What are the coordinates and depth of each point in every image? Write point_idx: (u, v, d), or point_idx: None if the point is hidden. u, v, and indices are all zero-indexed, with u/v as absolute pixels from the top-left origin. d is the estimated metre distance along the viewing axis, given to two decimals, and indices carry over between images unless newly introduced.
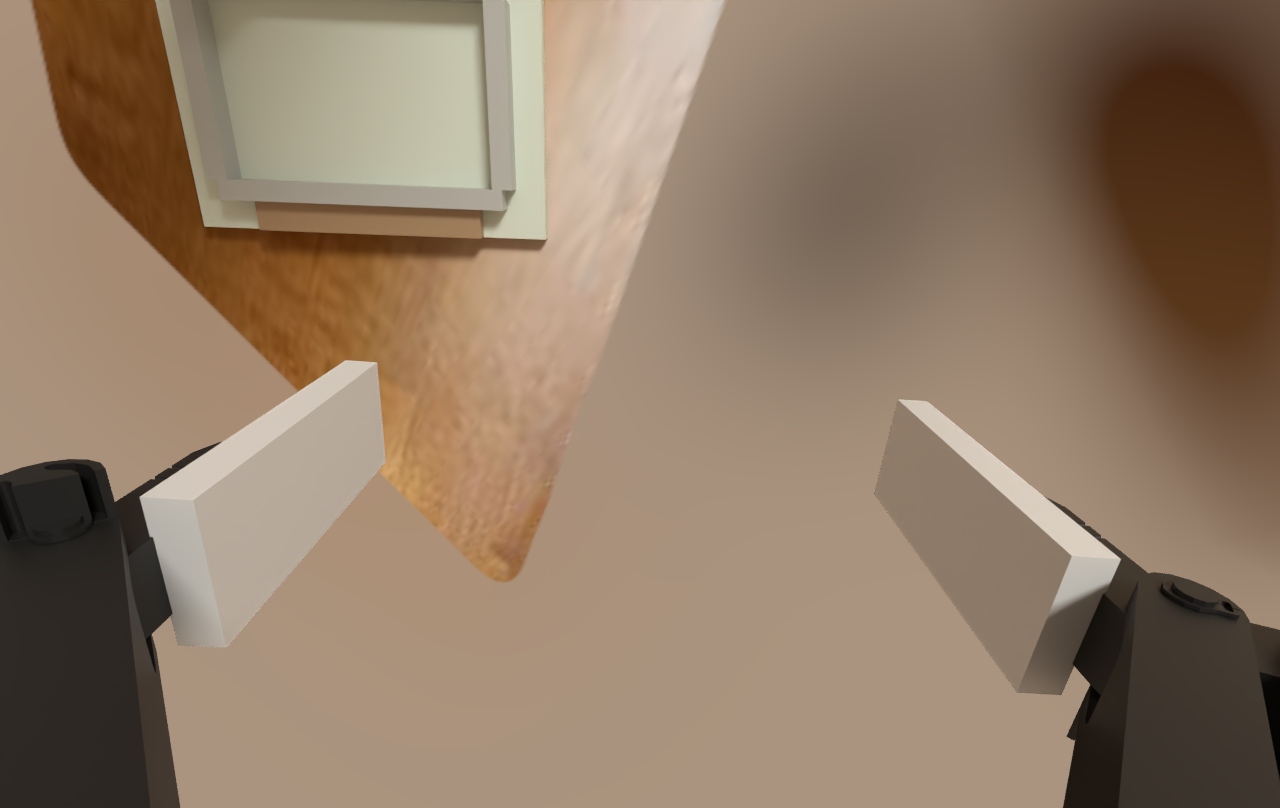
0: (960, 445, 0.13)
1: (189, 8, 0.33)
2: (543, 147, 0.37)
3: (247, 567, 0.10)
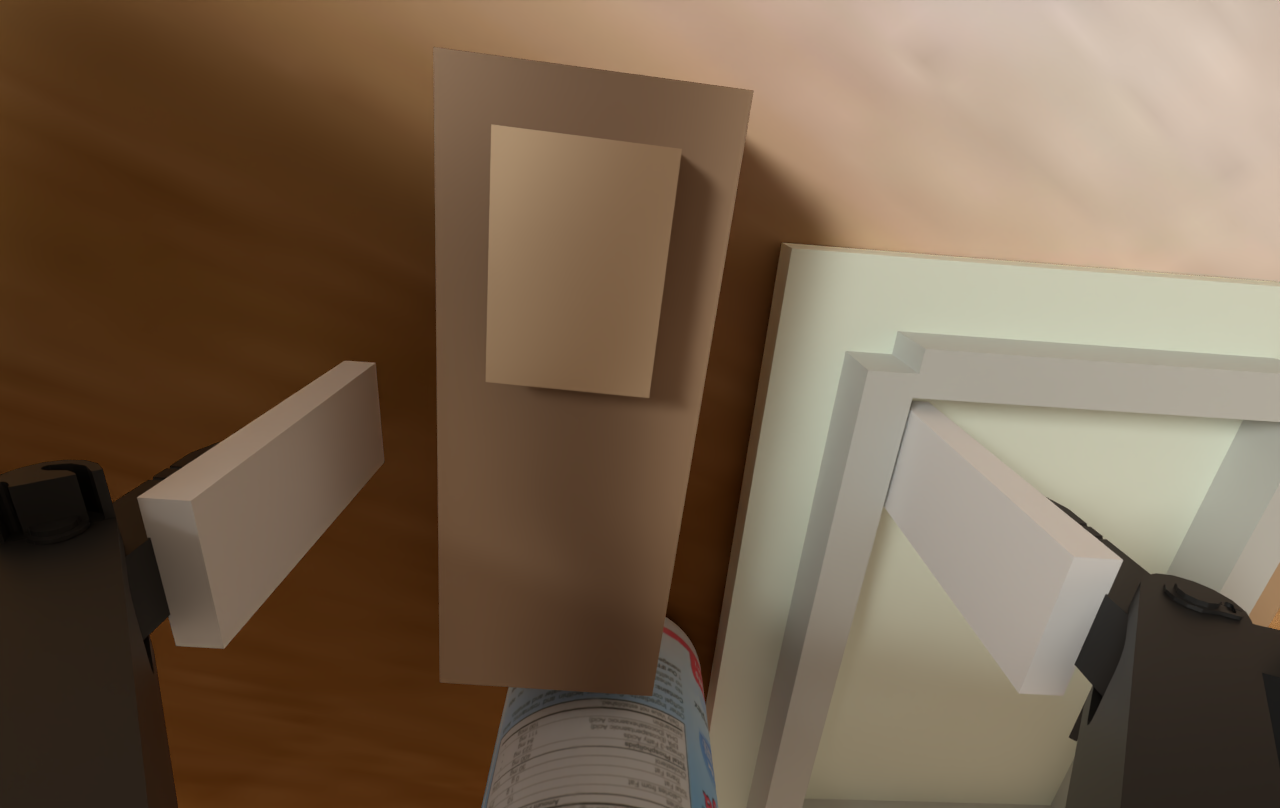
0: (961, 445, 0.13)
1: None
2: (1207, 282, 0.15)
3: (245, 567, 0.10)
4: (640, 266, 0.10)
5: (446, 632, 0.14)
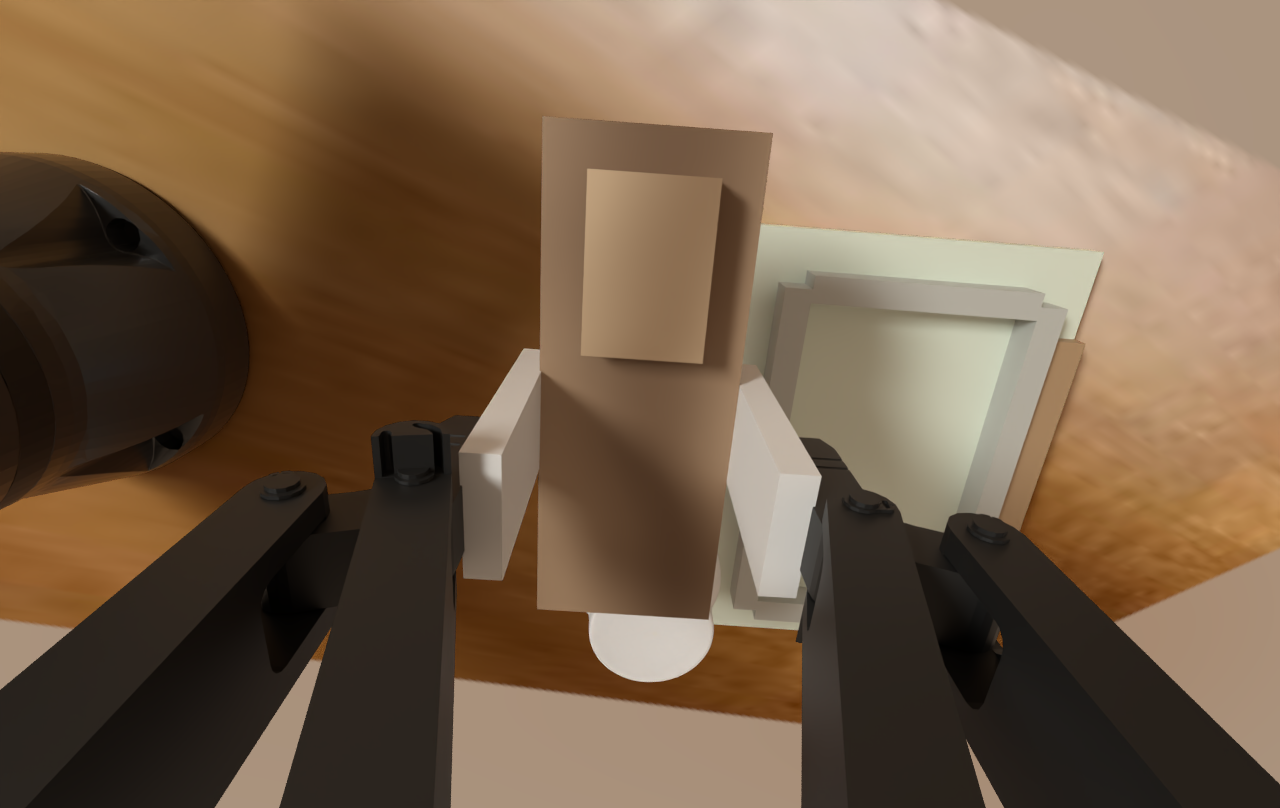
0: (756, 397, 0.14)
1: (778, 605, 0.32)
2: (979, 243, 0.27)
3: (510, 515, 0.12)
4: (693, 264, 0.13)
5: (543, 565, 0.17)
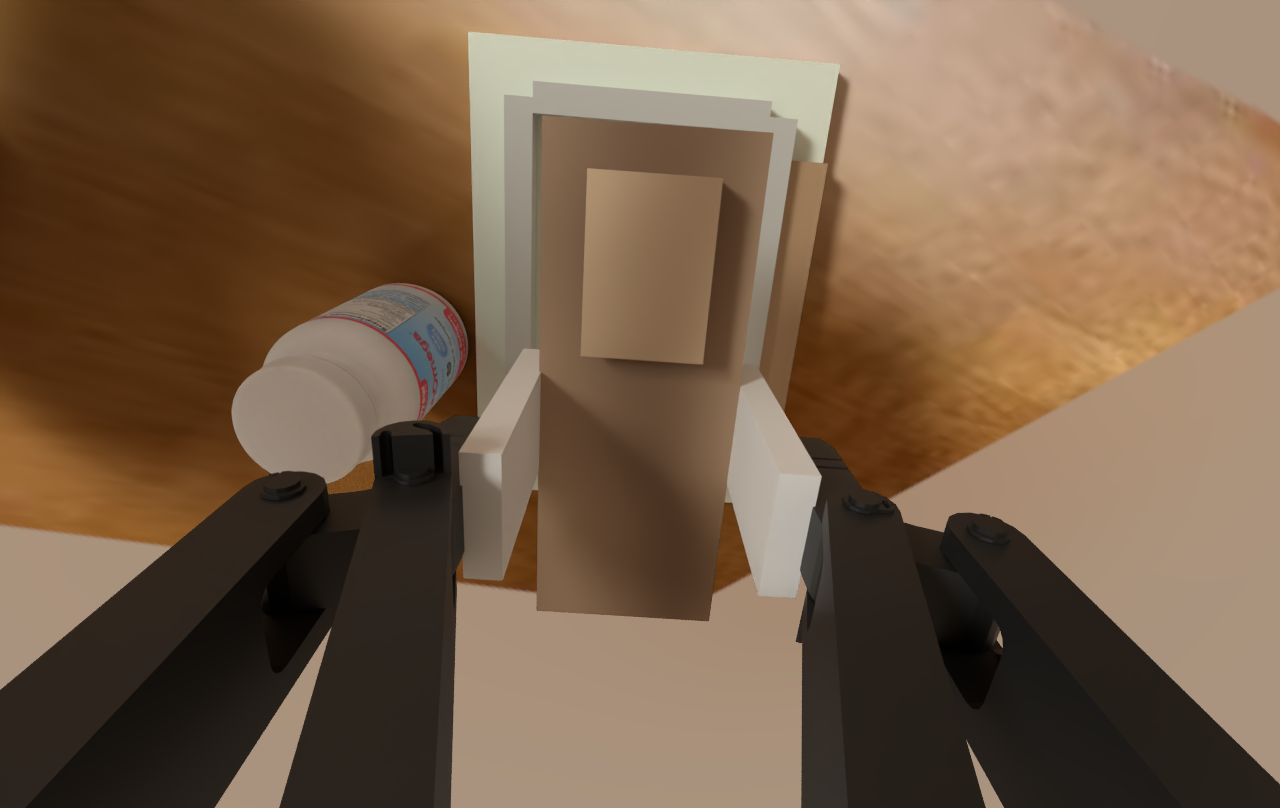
0: (756, 397, 0.14)
1: None
2: (712, 54, 0.26)
3: (510, 516, 0.12)
4: (694, 264, 0.13)
5: (542, 566, 0.17)
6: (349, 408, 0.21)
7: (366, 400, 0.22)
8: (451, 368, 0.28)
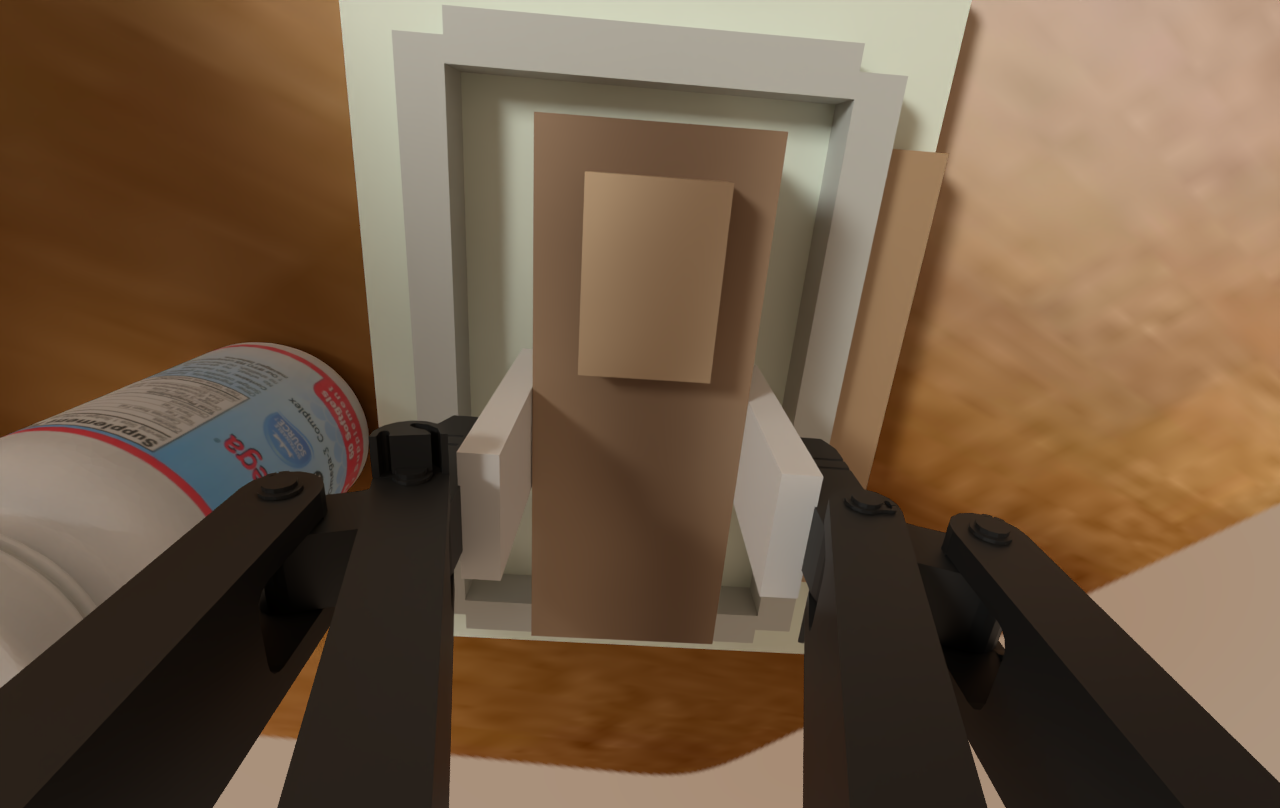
0: (757, 397, 0.14)
1: (499, 606, 0.20)
2: None
3: (508, 516, 0.12)
4: (701, 276, 0.12)
5: (537, 591, 0.16)
6: None
7: (58, 610, 0.11)
8: (324, 479, 0.17)
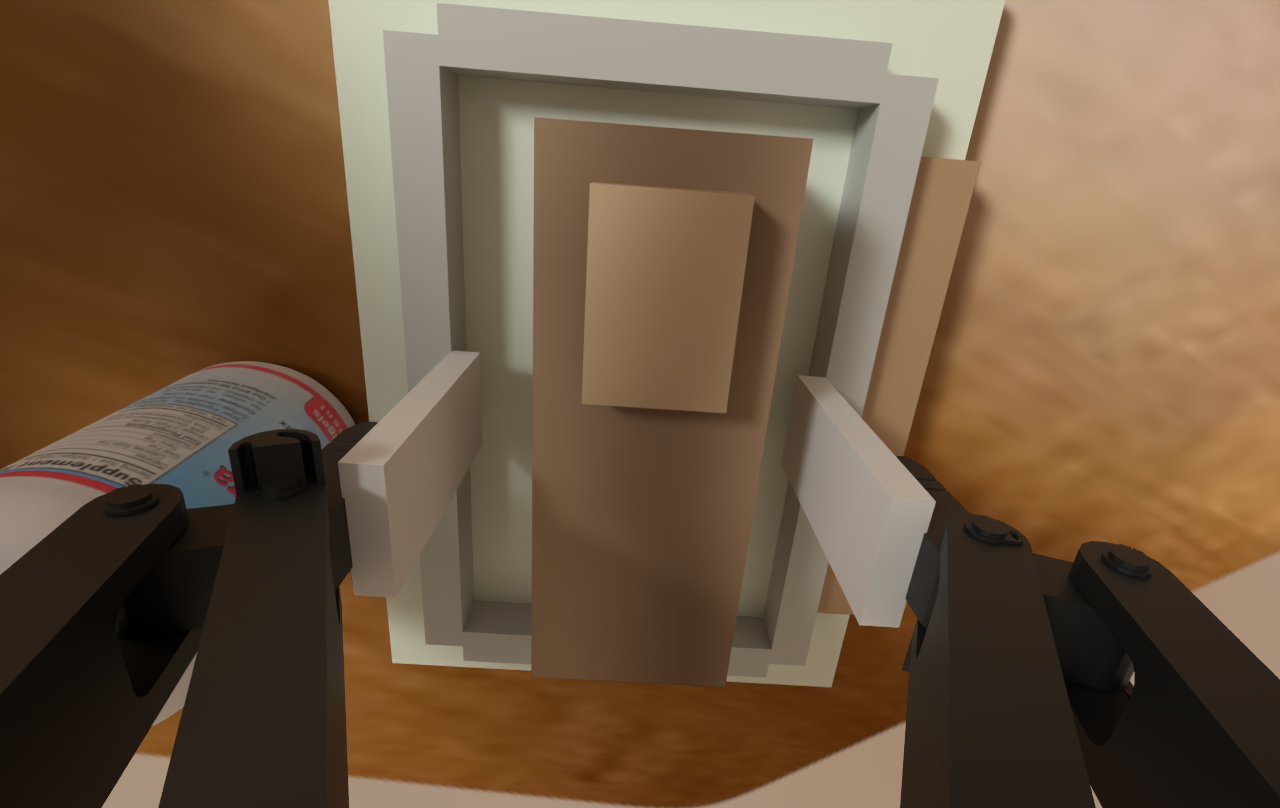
0: (837, 413, 0.14)
1: (498, 638, 0.19)
2: None
3: (407, 528, 0.11)
4: (717, 297, 0.11)
5: (538, 630, 0.15)
6: None
7: None
8: None
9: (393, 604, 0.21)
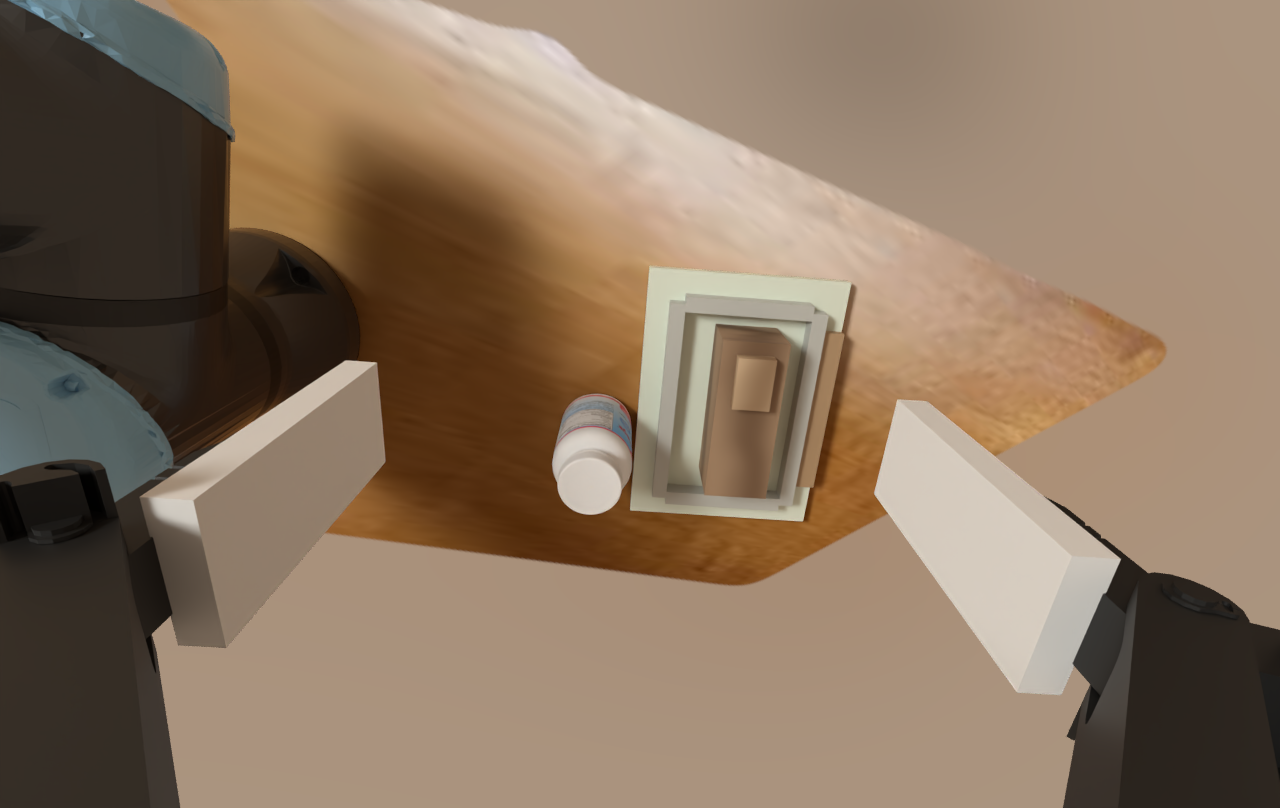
0: (960, 445, 0.13)
1: (679, 494, 0.53)
2: (781, 277, 0.48)
3: (247, 567, 0.10)
4: (767, 383, 0.44)
5: (708, 478, 0.48)
6: (615, 473, 0.42)
7: (618, 467, 0.43)
8: None
9: (634, 485, 0.54)
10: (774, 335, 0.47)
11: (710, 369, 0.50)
